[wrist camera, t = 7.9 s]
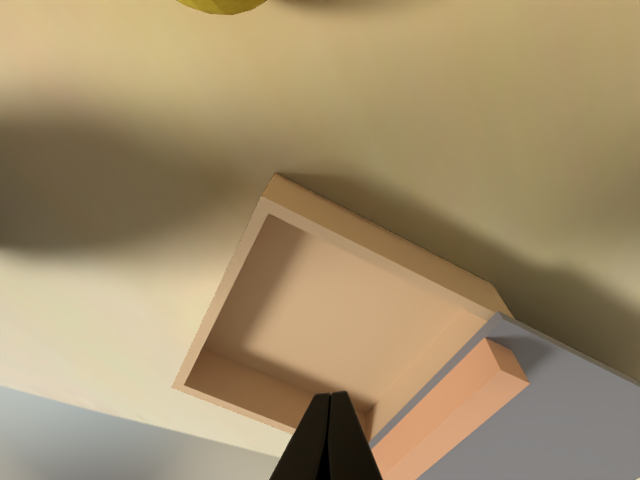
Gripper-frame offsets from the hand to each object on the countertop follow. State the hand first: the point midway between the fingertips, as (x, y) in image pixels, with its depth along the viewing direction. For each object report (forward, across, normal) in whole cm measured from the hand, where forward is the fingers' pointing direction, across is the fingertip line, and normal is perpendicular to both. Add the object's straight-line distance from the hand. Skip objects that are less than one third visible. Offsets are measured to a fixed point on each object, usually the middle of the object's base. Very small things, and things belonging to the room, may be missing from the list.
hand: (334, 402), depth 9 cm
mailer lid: (+8, -8, +15) cm, 19 cm away
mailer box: (+12, +2, +7) cm, 14 cm away
